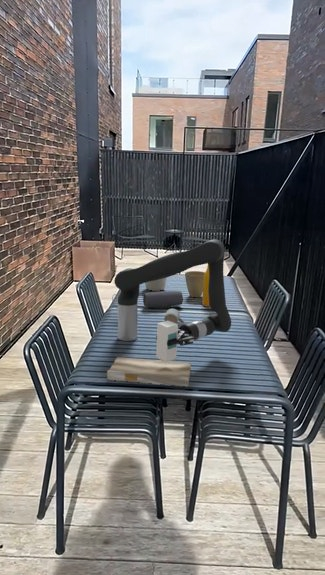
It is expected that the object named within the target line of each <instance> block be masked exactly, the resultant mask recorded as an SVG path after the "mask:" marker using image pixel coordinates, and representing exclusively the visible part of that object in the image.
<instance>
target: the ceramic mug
mask: <svg viewBox="0 0 325 575" xmlns="http://www.w3.org/2000/svg"><path fill="white" fill-rule="evenodd" d="M180 317H181V316H180V312H179V310H177V309H176V308H168V309H167V311H166V312H165V315H164V318H163V319H164V320H163V322H164V321H171V322H173V323H176V324H178V326H179V327H180V326H181V325H183V324H186V322H185V321H184V320H183V319H182V318H180Z"/></svg>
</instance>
